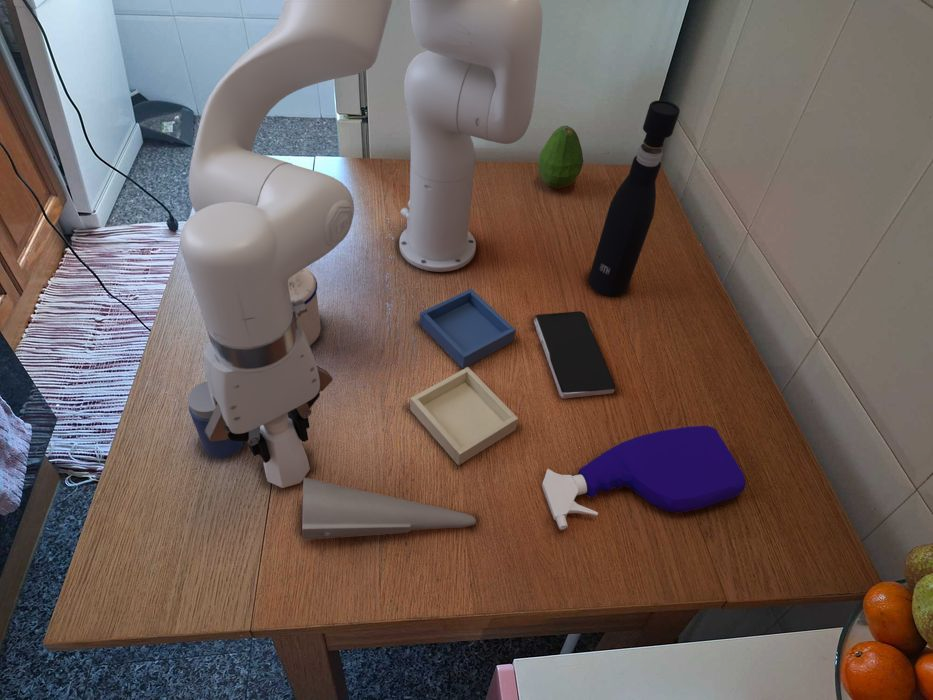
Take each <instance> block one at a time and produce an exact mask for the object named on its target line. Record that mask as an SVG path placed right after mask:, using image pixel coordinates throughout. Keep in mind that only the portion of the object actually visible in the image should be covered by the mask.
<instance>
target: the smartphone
mask: <svg viewBox="0 0 933 700" xmlns="http://www.w3.org/2000/svg"><path fill="white" fill-rule="evenodd" d="M533 323H534V326H535V330H536V333H537V336H538V338H539V341H540V344H541V346H542V349H543V352H544V354H545V357H546V361H547V363H548V366H549V368H550V371H551V374H552V377H553V379H554V383H555V385H556V388H557V391H558V394H559V396H560V398H562V399H572V398H574V399H575V398H581V397H590V396H601V395H610V394H611V395H612V394H614V392H615V390H616V383H615V381H614V379H613V377H612V374H611V372H610V369H609V366H608V365H607V362H606V360H605V358H604V356H603V354H602V352H601V349H600V346H599V345H598V342H597V340H596V337H595V335H594V332H593V329H592V327H591V325H590V323H589V321H588V318H587V316H586V314H585V312H583V311H580V310H579V311H565V312H554V313H543V314H542V313H541V314H535V317H534V320H533Z"/></svg>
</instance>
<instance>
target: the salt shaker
mask: <svg viewBox="0 0 933 700" xmlns="http://www.w3.org/2000/svg"><path fill="white" fill-rule="evenodd" d="M260 433H261V434H262V436H263V437H264V439H265V441H266V443H267V447H268V450H269V454H270V458H271V459H270V461H269V462H267V463H265V462H264V461H263V460H262V461H263V468H264V472H265V477H266V481H267V482H268V483H270V484H272V485H274V486H277V487H279V488H281V489H285V488H288V487H291V486H294V485H298V484H301V483H302V482H303V480H304V477H305V478H306V476H307V474H308V473H309V472H310V471H311V467H310V464H309V459H308V456H307V453H306V451H305V448H304V446H303V442H302V441H301V440H300V438H299V437H298V434H297V431H296V429H295V426H294V423H293V421H292V419H290V418H288V412H287V413H285V414H283V415H281V416H279V417H277V418H275V419H273V420H271V421H269V422H267V423H265V424H263V425H261V426H260Z"/></svg>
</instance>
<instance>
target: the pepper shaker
mask: <svg viewBox="0 0 933 700" xmlns="http://www.w3.org/2000/svg"><path fill="white" fill-rule="evenodd" d="M187 404H188V412H189V415H190V416H191V419H192V422H193V424H194V427H195V430H196V432H197V434H198V438H199V441H200V442H201V444H202V447H203V450H204V452H205V453H206V454H207V455H208V456H210V457H212V458H216V459H225V458H229V457H232V456H234V455H236V454H237V453H238V452H239V451H240V450H242V448H243V446H244V444H245V442H243V441H231V440H230V439H226V440H222V441H213V442H212V441H210V440H209V438H208V437H207V435H206V434H205V429H206V427H207V424H208V422H209V420H210V418H211V416H212V414H213V411H214V409H215V407H214V404H213V402H212V399H211V396H210V392H209V388H208V383H207V381H203V382H201V383H199V384H197V385H195V386H194V387H193V388H192V389H191V390H190V391H189V393H188V396H187Z"/></svg>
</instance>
